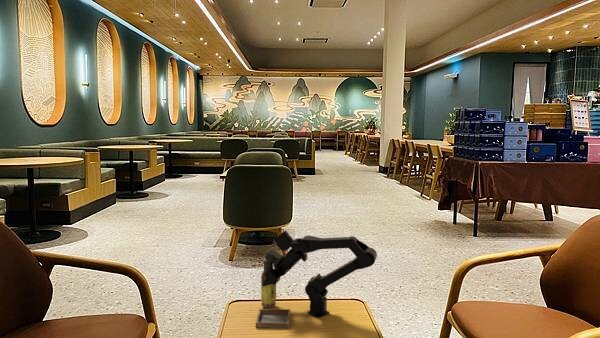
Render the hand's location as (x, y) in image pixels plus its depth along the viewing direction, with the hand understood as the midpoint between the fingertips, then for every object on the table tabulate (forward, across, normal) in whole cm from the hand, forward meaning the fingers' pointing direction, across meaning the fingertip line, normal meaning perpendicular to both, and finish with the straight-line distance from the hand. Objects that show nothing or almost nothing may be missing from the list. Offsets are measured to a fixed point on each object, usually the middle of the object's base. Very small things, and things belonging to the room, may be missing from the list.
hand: (265, 282), depth 188 cm
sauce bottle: (+6, 0, +8) cm, 10 cm away
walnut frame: (+2, +12, +13) cm, 17 cm away
